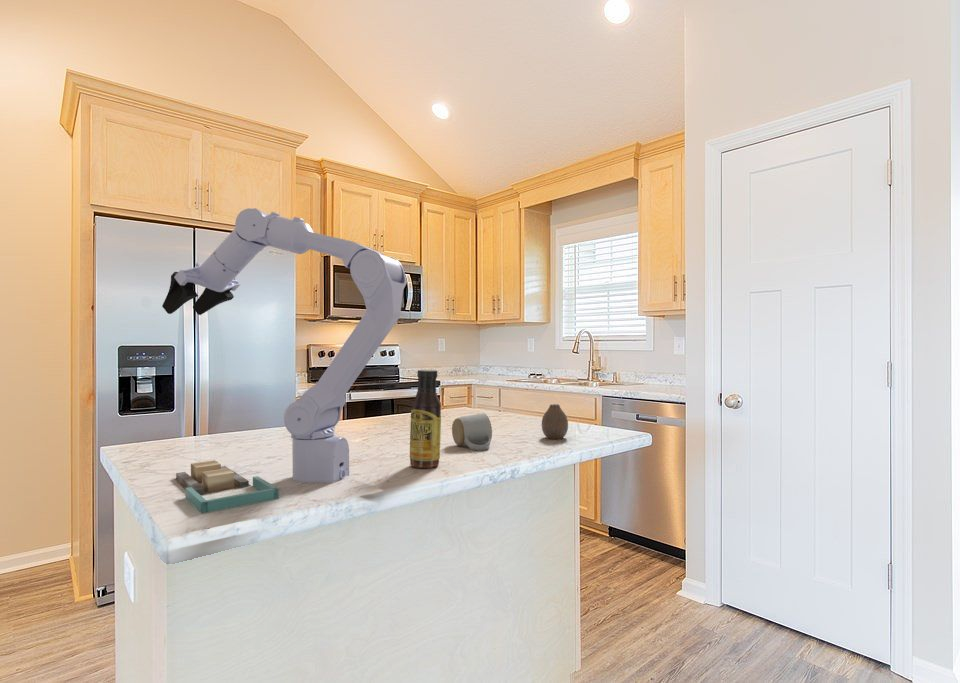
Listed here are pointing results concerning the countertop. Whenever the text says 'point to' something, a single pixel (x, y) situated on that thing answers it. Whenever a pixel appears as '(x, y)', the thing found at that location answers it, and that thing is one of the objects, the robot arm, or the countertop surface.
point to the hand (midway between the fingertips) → (182, 310)
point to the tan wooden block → (218, 479)
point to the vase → (554, 422)
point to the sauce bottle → (425, 423)
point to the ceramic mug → (472, 431)
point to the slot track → (197, 486)
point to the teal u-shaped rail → (234, 497)
